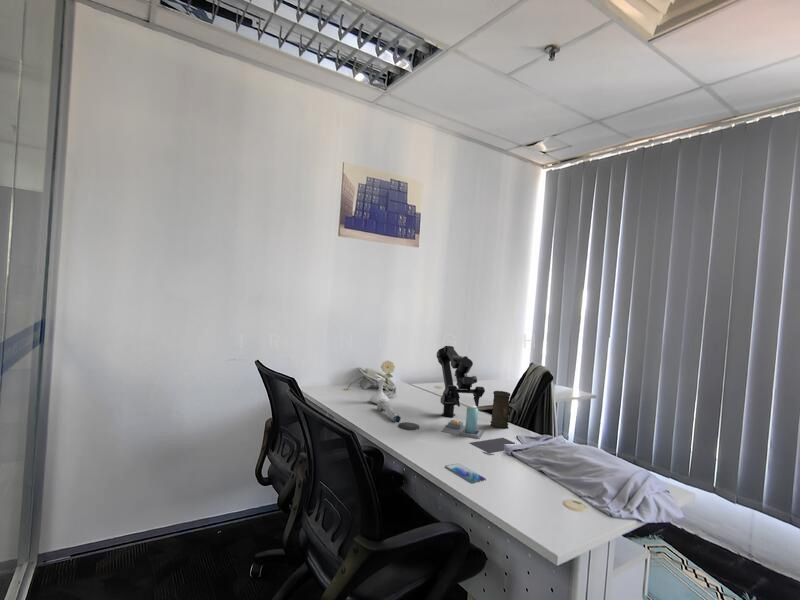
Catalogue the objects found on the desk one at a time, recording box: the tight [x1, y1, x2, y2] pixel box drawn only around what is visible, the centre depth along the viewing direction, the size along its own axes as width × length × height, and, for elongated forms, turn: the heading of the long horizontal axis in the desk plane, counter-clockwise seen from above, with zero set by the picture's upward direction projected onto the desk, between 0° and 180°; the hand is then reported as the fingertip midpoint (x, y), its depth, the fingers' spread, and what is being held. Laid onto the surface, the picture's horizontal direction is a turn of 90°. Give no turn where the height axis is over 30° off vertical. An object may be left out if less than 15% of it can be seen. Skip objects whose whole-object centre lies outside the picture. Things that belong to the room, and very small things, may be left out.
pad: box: [398, 421, 420, 431], centre depth 200 cm, size 10×10×1 cm
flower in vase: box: [369, 359, 396, 405], centre depth 241 cm, size 13×11×25 cm
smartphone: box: [444, 463, 487, 484], centre depth 151 cm, size 7×1×15 cm
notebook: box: [468, 437, 516, 456], centre depth 182 cm, size 13×2×21 cm
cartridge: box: [464, 404, 479, 435], centre depth 194 cm, size 5×5×13 cm
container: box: [489, 390, 511, 430], centre depth 210 cm, size 9×9×18 cm
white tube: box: [376, 399, 402, 423], centre depth 217 cm, size 5×7×25 cm
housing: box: [440, 419, 486, 440], centre depth 198 cm, size 16×18×3 cm
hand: (468, 406), depth 199 cm, fingers open, 9 cm apart
